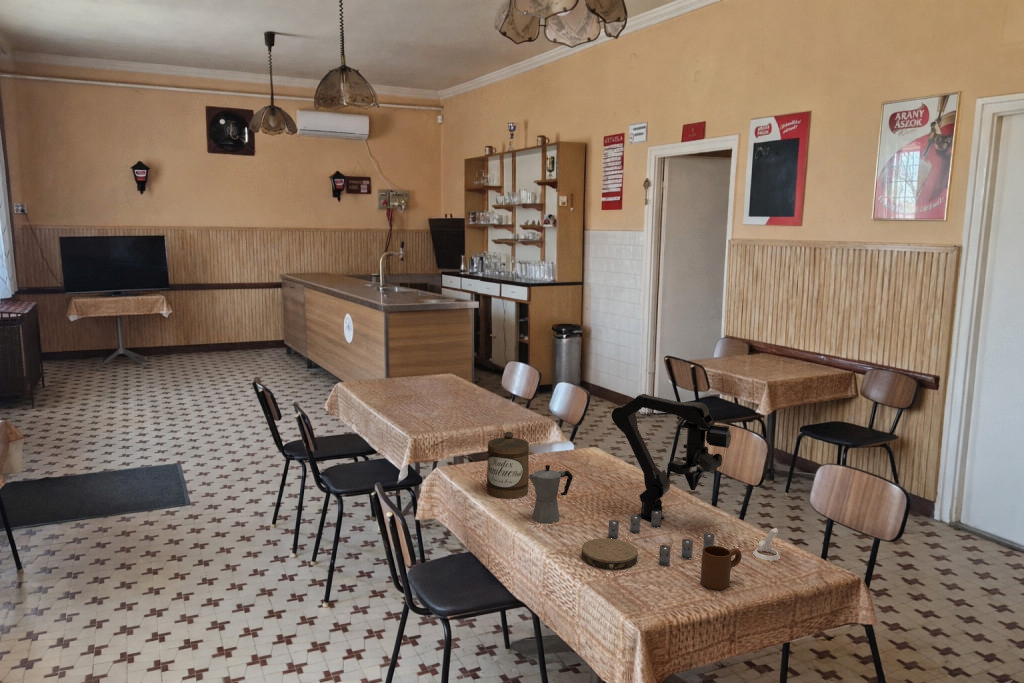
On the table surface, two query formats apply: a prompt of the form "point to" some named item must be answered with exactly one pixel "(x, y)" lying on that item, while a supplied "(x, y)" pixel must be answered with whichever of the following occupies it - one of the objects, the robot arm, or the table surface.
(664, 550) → the grey metal cylinder set
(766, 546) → the hook
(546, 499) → the coffeepot
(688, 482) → the robot arm
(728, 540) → the table surface
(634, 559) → the brown wooden disc
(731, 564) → the mug
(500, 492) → the wooden container
